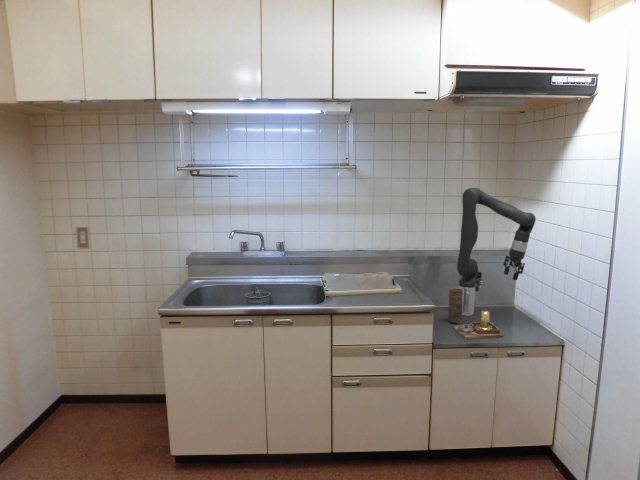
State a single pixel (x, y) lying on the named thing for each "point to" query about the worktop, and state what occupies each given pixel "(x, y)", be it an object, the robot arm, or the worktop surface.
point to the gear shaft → (484, 321)
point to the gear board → (477, 331)
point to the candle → (455, 305)
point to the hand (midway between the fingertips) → (510, 277)
